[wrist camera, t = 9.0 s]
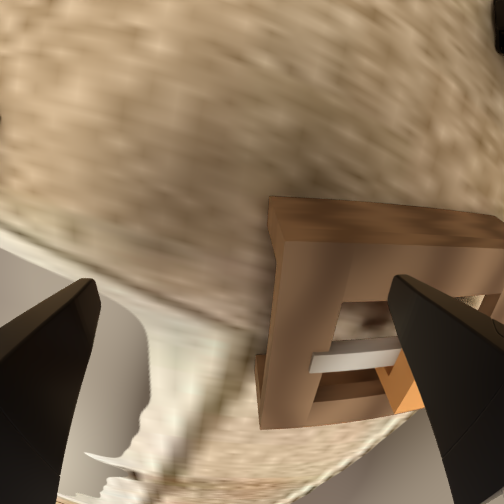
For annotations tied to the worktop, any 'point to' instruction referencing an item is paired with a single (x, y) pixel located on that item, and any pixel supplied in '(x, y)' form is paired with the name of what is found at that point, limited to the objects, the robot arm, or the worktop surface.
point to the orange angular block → (400, 386)
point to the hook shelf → (358, 297)
